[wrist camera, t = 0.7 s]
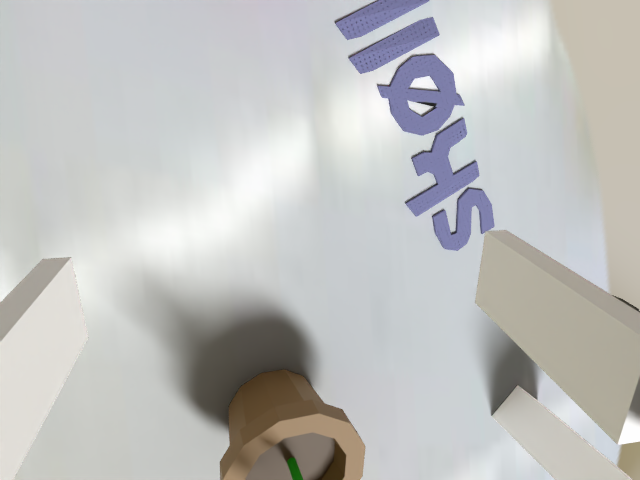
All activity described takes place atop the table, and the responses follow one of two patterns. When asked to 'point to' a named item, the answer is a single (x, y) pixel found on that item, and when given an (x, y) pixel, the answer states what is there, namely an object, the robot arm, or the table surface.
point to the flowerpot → (289, 433)
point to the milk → (553, 441)
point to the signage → (388, 8)
